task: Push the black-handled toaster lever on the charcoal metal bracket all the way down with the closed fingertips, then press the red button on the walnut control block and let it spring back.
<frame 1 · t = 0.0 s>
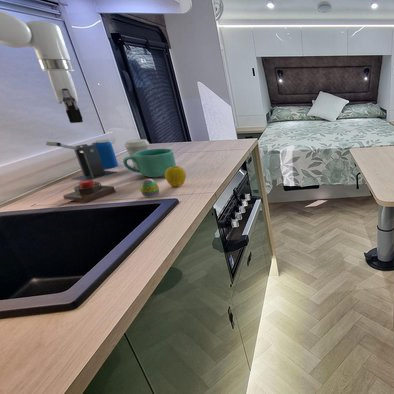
hand: (76, 121, 99), 22 cm above the worktop, tool pointing down, fingers open, 9 cm apart
beverage can: (110, 169, 125), on the worktop
toaster bracket: (95, 177, 114), on the worktop
stop button: (86, 183, 93), point 5 cm above the worktop, slide at 0.2 cm
egg: (151, 196, 95), on the worktop
coffee cup: (144, 168, 125), on the worktop
toaster lever: (71, 147, 105), point 13 cm above the worktop, hinge at 25.0°
apple: (178, 186, 103), on the worktop
mug: (154, 176, 115), on the worktop
button block: (91, 197, 94), on the worktop
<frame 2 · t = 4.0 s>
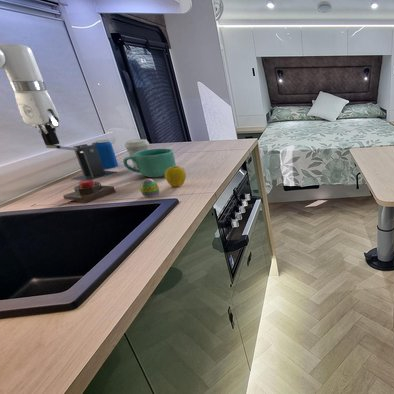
hand: (52, 144, 100), 15 cm above the worktop, tool pointing down, fingers closed
toaster lever: (71, 148, 105), point 13 cm above the worktop, hinge at 19.6°, touching gripper
everything else where it was.
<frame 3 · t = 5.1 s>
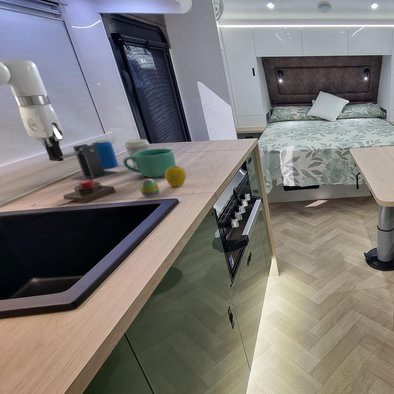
hand: (56, 156, 101), 11 cm above the worktop, tool pointing down, fingers closed
toaster lever: (72, 154, 105), point 11 cm above the worktop, hinge at -5.0°, touching gripper
everything else where it was.
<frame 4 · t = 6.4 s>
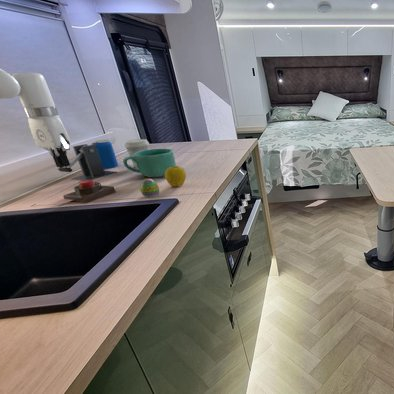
hand: (63, 166, 103), 7 cm above the worktop, tool pointing down, fingers closed
toaster lever: (76, 158, 107), point 9 cm above the worktop, hinge at -30.8°, touching gripper
everything else where it was.
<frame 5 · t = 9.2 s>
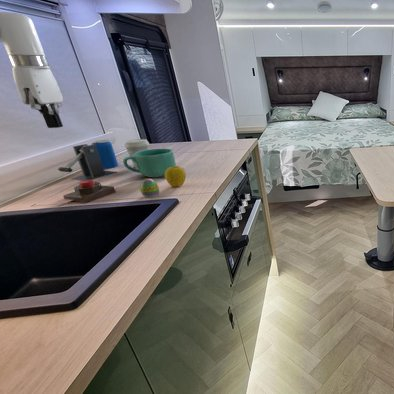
hand: (55, 127, 91), 22 cm above the worktop, tool pointing down, fingers closed
toaster lever: (76, 158, 107), point 9 cm above the worktop, hinge at -30.8°
everything else where it was.
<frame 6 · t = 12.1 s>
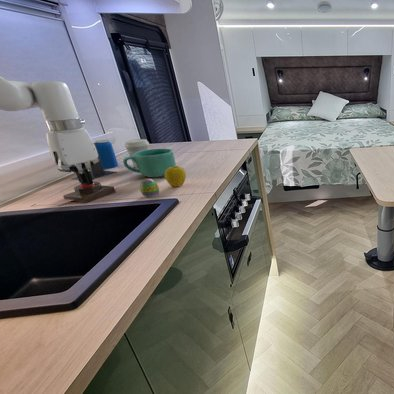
hand: (87, 183, 93), 5 cm above the worktop, tool pointing down, fingers closed
stop button: (87, 186, 93), point 4 cm above the worktop, slide at -0.7 cm, touching gripper
everything else where it was.
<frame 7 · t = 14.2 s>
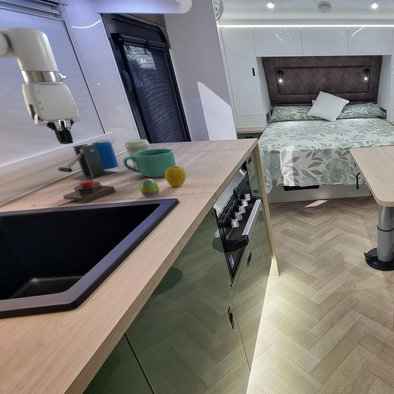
hand: (66, 143, 88), 18 cm above the worktop, tool pointing down, fingers closed
stop button: (86, 183, 93), point 5 cm above the worktop, slide at 0.2 cm
everything else where it was.
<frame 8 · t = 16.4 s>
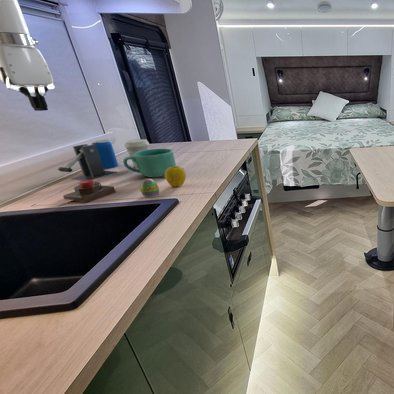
hand: (41, 110, 87), 27 cm above the worktop, tool pointing down, fingers closed
nothing on the worktop moved.
at the end: toaster lever at -31° (first picture: +25°); stop button pushed in 1.1 cm at the most during the clip, back to 0.2 cm at the end; stop button slide at 0.2 cm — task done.
